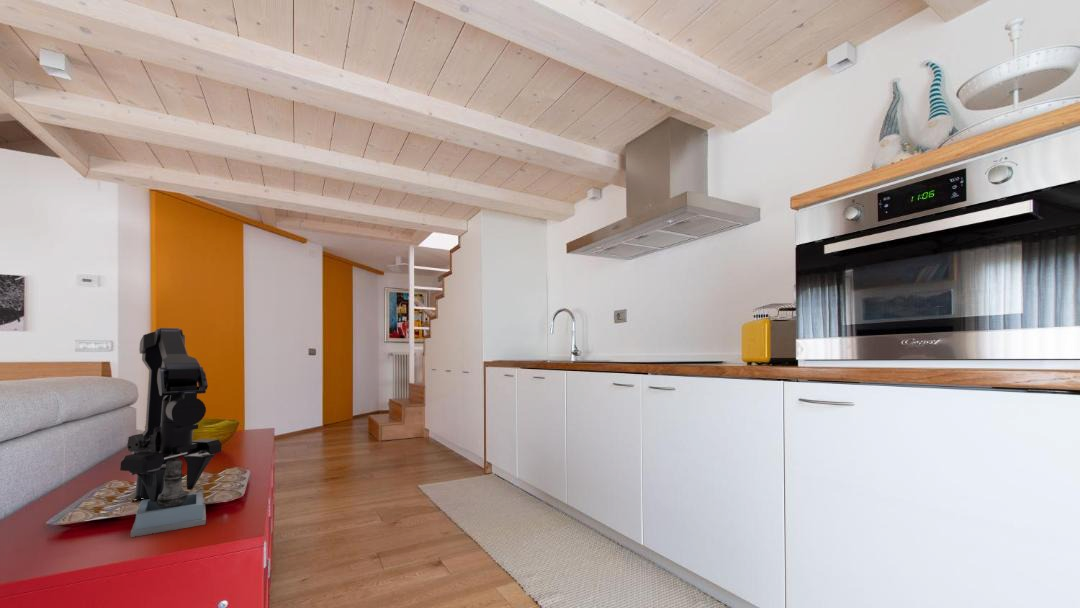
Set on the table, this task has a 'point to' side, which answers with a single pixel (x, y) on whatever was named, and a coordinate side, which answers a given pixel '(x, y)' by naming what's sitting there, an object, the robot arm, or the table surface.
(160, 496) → the grey stone tall figure
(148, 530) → the holder
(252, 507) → the table surface
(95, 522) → the table surface
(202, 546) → the table surface
